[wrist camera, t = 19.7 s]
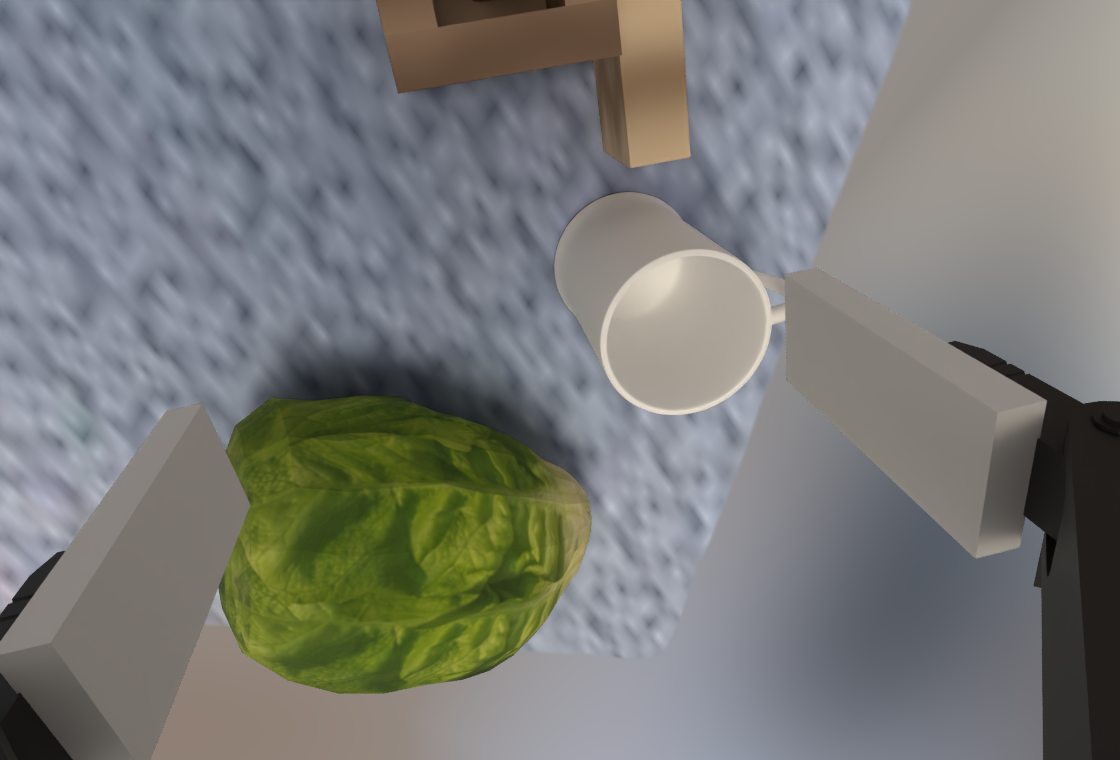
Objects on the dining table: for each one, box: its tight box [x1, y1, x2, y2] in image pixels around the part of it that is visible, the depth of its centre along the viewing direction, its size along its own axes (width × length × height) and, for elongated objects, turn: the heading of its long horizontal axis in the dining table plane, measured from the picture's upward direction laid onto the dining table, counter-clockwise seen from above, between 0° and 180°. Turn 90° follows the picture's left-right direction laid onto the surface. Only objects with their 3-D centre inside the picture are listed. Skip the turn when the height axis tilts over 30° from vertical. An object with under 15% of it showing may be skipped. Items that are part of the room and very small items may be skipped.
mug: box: [554, 192, 785, 415], centre depth 36 cm, size 12×8×12 cm
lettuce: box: [219, 396, 592, 693], centre depth 40 cm, size 16×21×15 cm
